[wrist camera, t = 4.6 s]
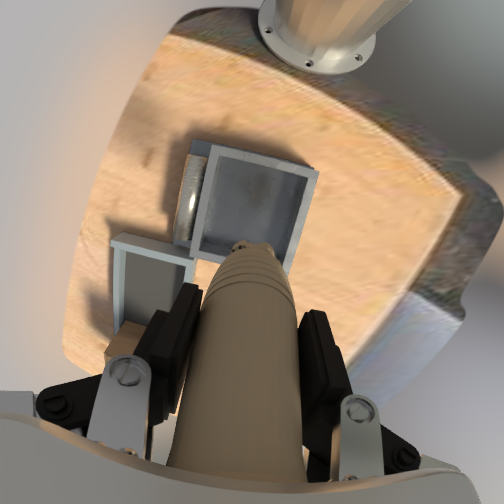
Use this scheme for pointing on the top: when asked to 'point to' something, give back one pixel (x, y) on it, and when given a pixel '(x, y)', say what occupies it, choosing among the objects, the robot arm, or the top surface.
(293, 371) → the handle
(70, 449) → the robot arm
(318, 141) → the top surface
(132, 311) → the bay
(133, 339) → the crate
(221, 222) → the gray square tray
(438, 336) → the top surface
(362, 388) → the top surface
